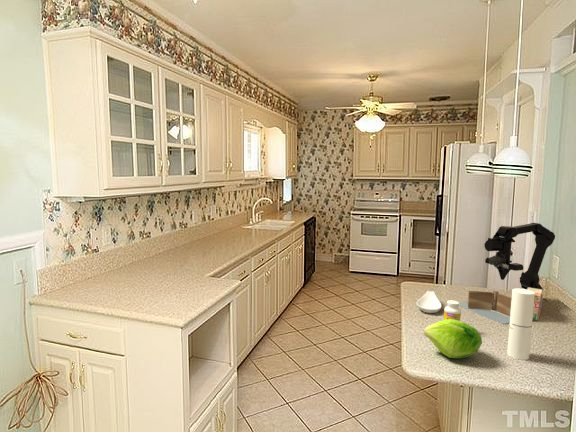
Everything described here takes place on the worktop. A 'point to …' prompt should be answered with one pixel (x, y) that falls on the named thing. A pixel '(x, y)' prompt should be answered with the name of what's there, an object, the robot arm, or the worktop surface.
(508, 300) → the fence post and fixed panel
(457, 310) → the supplement bottle
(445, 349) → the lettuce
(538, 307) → the stack of blocks
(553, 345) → the worktop surface
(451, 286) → the worktop surface
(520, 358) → the cylindrical container
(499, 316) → the card
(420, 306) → the spoon rest
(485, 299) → the wooden board
